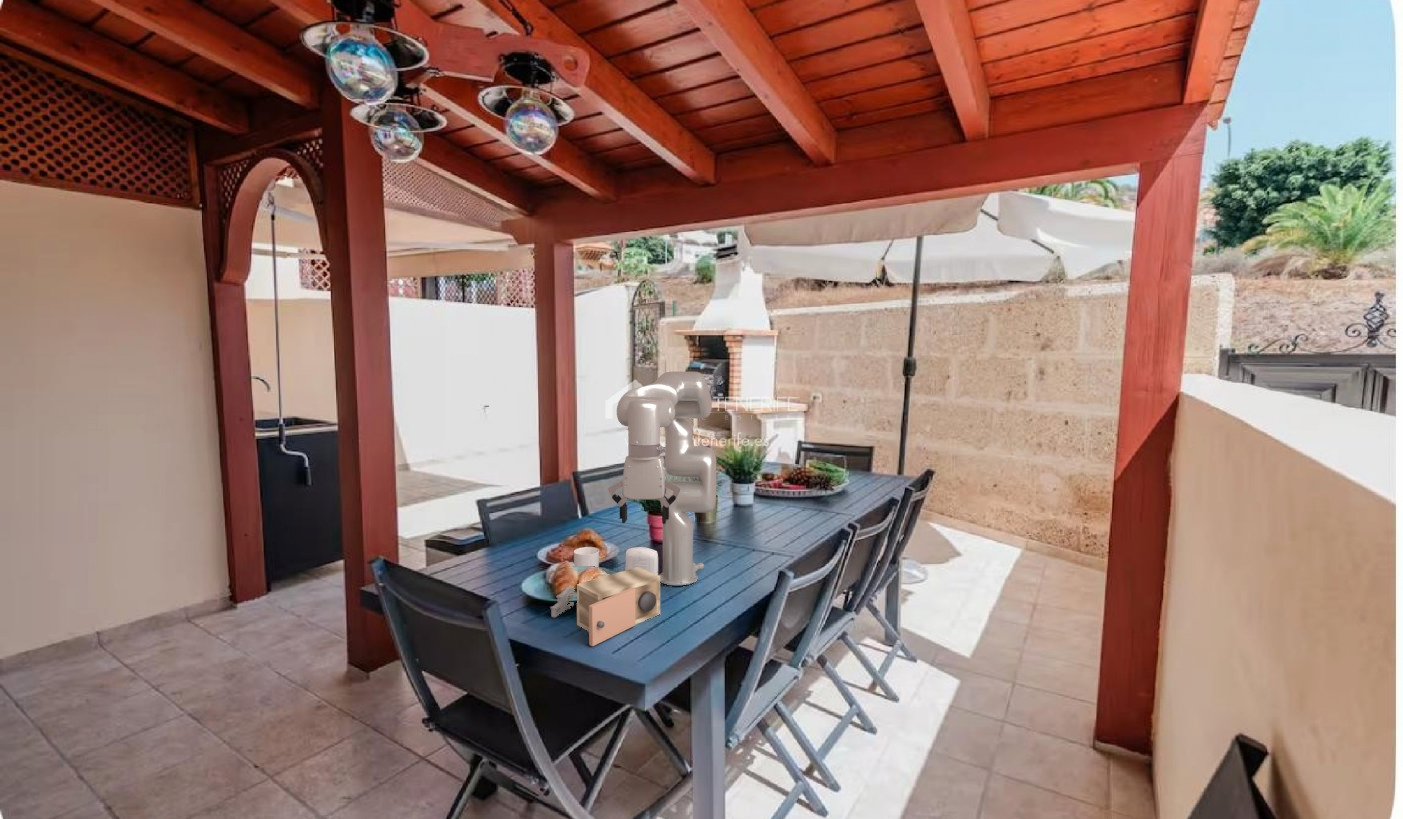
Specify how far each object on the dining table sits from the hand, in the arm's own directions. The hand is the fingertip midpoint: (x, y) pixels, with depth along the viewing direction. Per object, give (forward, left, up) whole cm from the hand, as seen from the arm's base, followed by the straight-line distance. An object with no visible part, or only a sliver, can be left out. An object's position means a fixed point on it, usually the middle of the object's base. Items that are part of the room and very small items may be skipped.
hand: (644, 522), depth 150 cm
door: (+3, -9, -30) cm, 31 cm away
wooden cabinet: (-4, -16, -31) cm, 35 cm away
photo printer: (-23, -31, -31) cm, 50 cm away
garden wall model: (+3, -32, -31) cm, 45 cm away
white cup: (-13, -46, -31) cm, 57 cm away
